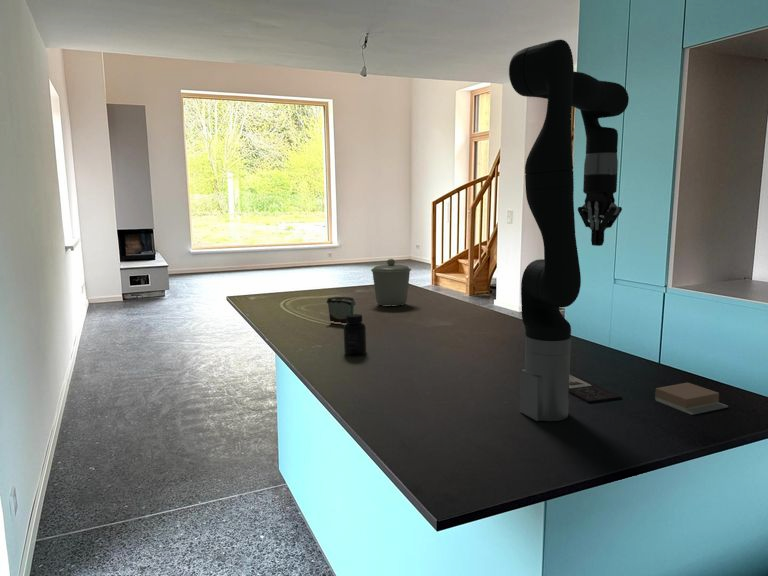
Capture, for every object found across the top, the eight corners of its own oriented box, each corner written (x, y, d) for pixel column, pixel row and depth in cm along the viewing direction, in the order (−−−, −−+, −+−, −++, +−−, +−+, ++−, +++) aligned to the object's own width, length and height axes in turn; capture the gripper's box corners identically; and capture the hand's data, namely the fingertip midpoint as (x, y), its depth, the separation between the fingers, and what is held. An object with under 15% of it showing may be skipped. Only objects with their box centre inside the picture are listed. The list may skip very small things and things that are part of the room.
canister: (368, 308, 243) (367, 261, 240) (375, 301, 261) (374, 257, 257) (409, 309, 240) (408, 261, 237) (413, 301, 258) (413, 256, 254)
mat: (691, 414, 117) (691, 413, 117) (655, 400, 126) (655, 399, 126) (728, 407, 121) (728, 405, 121) (690, 393, 130) (690, 392, 129)
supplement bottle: (371, 353, 170) (370, 315, 169) (355, 357, 165) (354, 318, 164) (355, 349, 175) (354, 312, 173) (339, 353, 170) (338, 315, 168)
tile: (655, 398, 126) (685, 410, 119) (655, 388, 126) (686, 399, 119) (687, 392, 130) (718, 403, 122) (687, 382, 129) (719, 392, 122)
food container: (362, 323, 213) (361, 298, 211) (353, 326, 208) (352, 300, 206) (336, 320, 219) (336, 295, 218) (327, 323, 214) (326, 298, 213)
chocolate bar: (588, 401, 125) (544, 377, 142) (588, 405, 125) (544, 381, 142) (621, 396, 127) (574, 374, 144) (621, 400, 127) (574, 377, 144)
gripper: (569, 174, 137) (566, 244, 140) (608, 171, 125) (604, 248, 128) (593, 174, 140) (590, 243, 142) (633, 171, 128) (630, 246, 130)
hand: (597, 245), depth 135 cm, fingers closed
